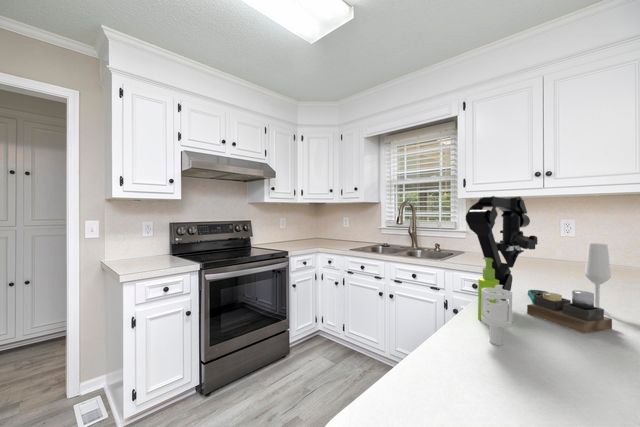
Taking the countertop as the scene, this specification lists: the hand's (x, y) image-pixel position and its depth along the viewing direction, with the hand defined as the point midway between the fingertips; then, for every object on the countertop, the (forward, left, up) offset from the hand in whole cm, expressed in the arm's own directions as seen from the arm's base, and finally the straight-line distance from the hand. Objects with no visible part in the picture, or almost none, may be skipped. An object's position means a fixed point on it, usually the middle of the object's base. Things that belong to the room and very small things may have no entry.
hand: (510, 267), depth 115 cm
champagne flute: (+17, -19, -13) cm, 29 cm away
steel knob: (-2, -27, -7) cm, 27 cm away
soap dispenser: (-26, -14, -13) cm, 32 cm away
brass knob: (-3, -17, -10) cm, 20 cm away
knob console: (-2, -22, -13) cm, 26 cm away
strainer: (-38, -28, -13) cm, 49 cm away
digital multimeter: (+11, -4, -14) cm, 18 cm away
